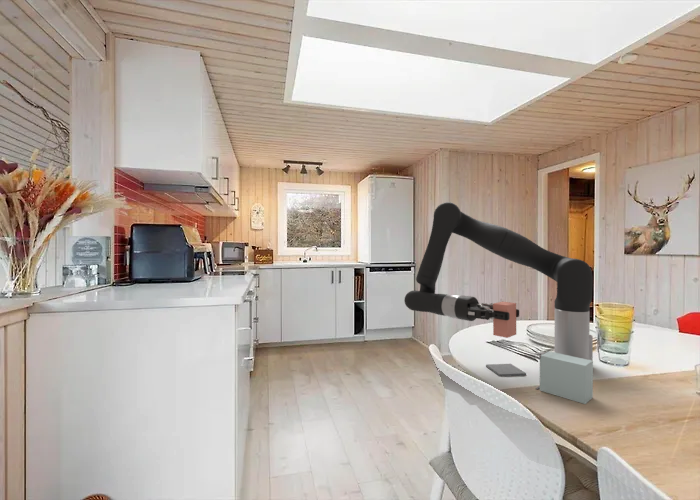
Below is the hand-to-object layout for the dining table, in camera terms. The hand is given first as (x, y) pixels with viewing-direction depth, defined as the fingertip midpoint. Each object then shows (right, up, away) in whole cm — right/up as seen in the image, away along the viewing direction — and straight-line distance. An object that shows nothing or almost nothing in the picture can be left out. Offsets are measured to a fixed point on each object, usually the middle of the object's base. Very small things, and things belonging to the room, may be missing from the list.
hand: (513, 314), depth 95 cm
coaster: (0, -18, +6) cm, 19 cm away
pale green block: (+8, -18, -10) cm, 22 cm away
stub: (-2, -6, +2) cm, 7 cm away
